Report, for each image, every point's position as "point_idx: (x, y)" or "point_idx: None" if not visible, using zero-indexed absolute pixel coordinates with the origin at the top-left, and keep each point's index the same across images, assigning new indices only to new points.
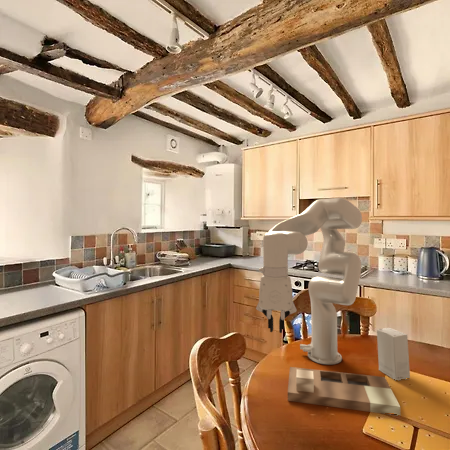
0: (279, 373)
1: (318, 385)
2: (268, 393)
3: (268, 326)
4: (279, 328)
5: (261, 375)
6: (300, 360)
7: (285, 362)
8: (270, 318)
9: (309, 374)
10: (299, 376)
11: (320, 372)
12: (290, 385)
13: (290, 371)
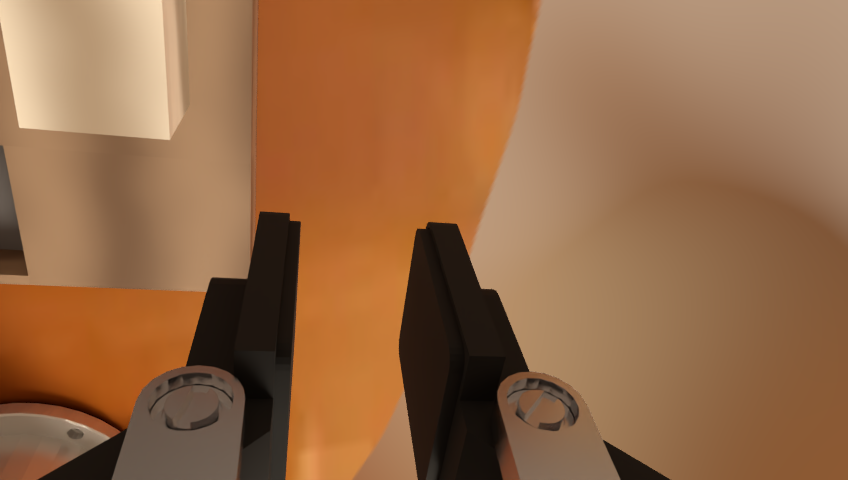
0: (323, 263)
1: None
2: (395, 17)
3: (493, 299)
4: (295, 253)
5: None
6: None
7: None
8: (490, 404)
9: (44, 61)
10: (132, 12)
11: (30, 269)
12: (235, 46)
13: (243, 237)
